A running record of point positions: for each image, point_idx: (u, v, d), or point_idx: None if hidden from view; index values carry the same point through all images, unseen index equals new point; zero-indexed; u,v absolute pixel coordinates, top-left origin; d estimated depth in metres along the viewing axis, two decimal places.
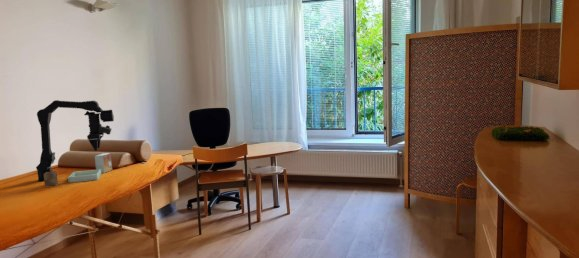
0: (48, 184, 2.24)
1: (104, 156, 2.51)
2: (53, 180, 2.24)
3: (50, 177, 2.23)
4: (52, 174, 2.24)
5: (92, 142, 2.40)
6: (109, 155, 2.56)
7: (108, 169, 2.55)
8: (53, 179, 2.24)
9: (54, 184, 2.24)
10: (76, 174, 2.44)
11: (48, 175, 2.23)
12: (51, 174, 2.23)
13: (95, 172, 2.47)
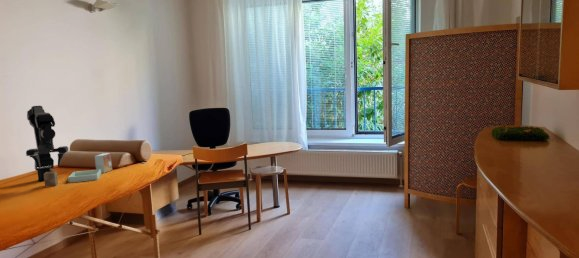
0: (48, 184, 2.24)
1: (104, 156, 2.51)
2: (53, 180, 2.24)
3: (50, 177, 2.23)
4: (52, 174, 2.24)
5: None
6: (109, 155, 2.56)
7: (108, 169, 2.55)
8: (53, 179, 2.24)
9: (54, 184, 2.24)
10: (76, 174, 2.44)
11: (48, 175, 2.23)
12: (51, 174, 2.23)
13: (95, 172, 2.47)
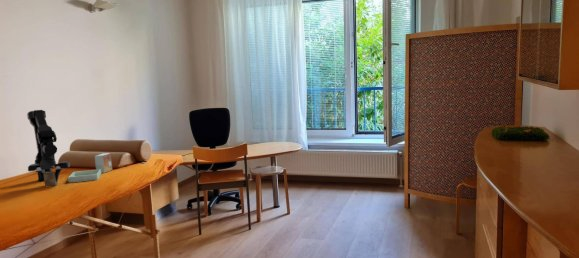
0: (48, 184, 2.24)
1: (104, 156, 2.51)
2: (53, 180, 2.24)
3: (50, 177, 2.23)
4: (52, 174, 2.24)
5: None
6: (109, 155, 2.56)
7: (108, 169, 2.55)
8: (53, 179, 2.24)
9: (54, 184, 2.24)
10: (76, 174, 2.44)
11: (48, 175, 2.23)
12: (51, 174, 2.23)
13: (95, 172, 2.47)
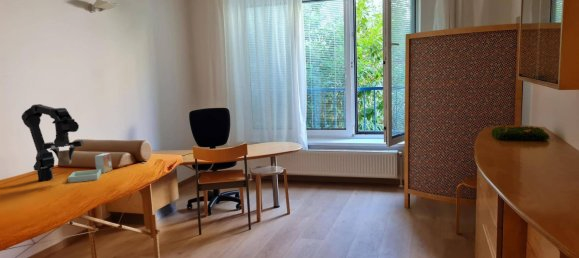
0: (62, 162, 2.28)
1: (104, 156, 2.51)
2: (67, 158, 2.28)
3: (64, 155, 2.28)
4: (66, 152, 2.28)
5: None
6: (109, 155, 2.56)
7: (108, 169, 2.55)
8: (67, 157, 2.28)
9: (68, 162, 2.29)
10: (76, 174, 2.44)
11: (62, 153, 2.28)
12: (65, 152, 2.28)
13: (95, 172, 2.47)
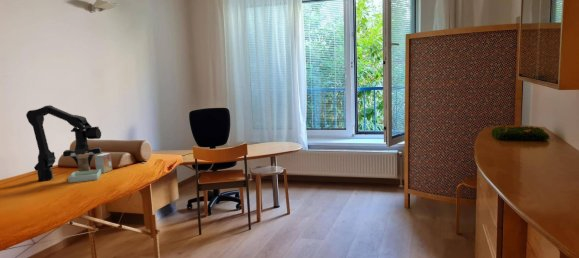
0: (81, 169, 2.36)
1: (104, 156, 2.51)
2: (86, 165, 2.37)
3: (83, 162, 2.36)
4: (85, 159, 2.36)
5: None
6: (109, 155, 2.56)
7: (108, 169, 2.55)
8: (86, 164, 2.36)
9: (87, 169, 2.37)
10: (76, 174, 2.44)
11: (82, 160, 2.36)
12: (84, 159, 2.36)
13: (95, 172, 2.47)
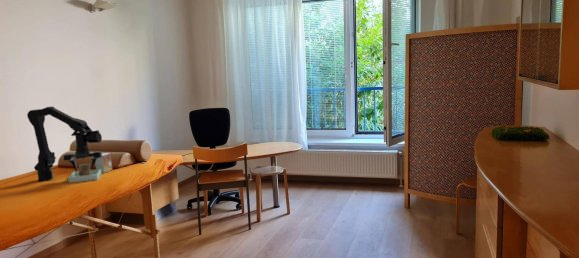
0: (82, 175, 2.37)
1: (104, 156, 2.51)
2: (87, 172, 2.37)
3: (84, 169, 2.36)
4: (86, 166, 2.37)
5: None
6: (109, 155, 2.56)
7: (108, 169, 2.55)
8: (87, 171, 2.37)
9: None
10: (76, 174, 2.44)
11: (82, 167, 2.36)
12: (85, 166, 2.36)
13: (95, 172, 2.47)
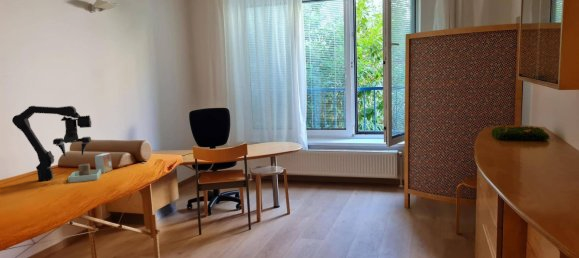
0: (82, 175, 2.37)
1: (104, 156, 2.51)
2: (87, 172, 2.37)
3: (84, 169, 2.36)
4: (86, 166, 2.37)
5: None
6: (109, 155, 2.56)
7: (108, 169, 2.55)
8: (87, 171, 2.37)
9: None
10: (76, 174, 2.44)
11: (82, 167, 2.36)
12: (85, 166, 2.36)
13: (95, 172, 2.47)
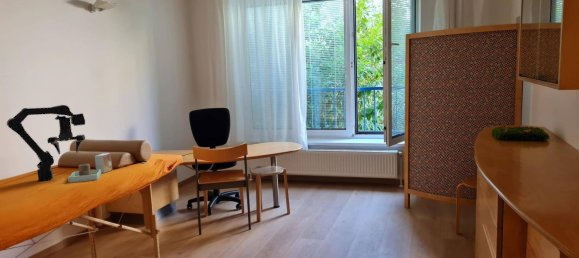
0: (82, 175, 2.37)
1: (104, 156, 2.51)
2: (87, 172, 2.37)
3: (84, 169, 2.36)
4: (86, 166, 2.37)
5: None
6: (109, 155, 2.56)
7: (108, 169, 2.55)
8: (87, 171, 2.37)
9: None
10: (76, 174, 2.44)
11: (82, 167, 2.36)
12: (85, 166, 2.36)
13: (95, 172, 2.47)
